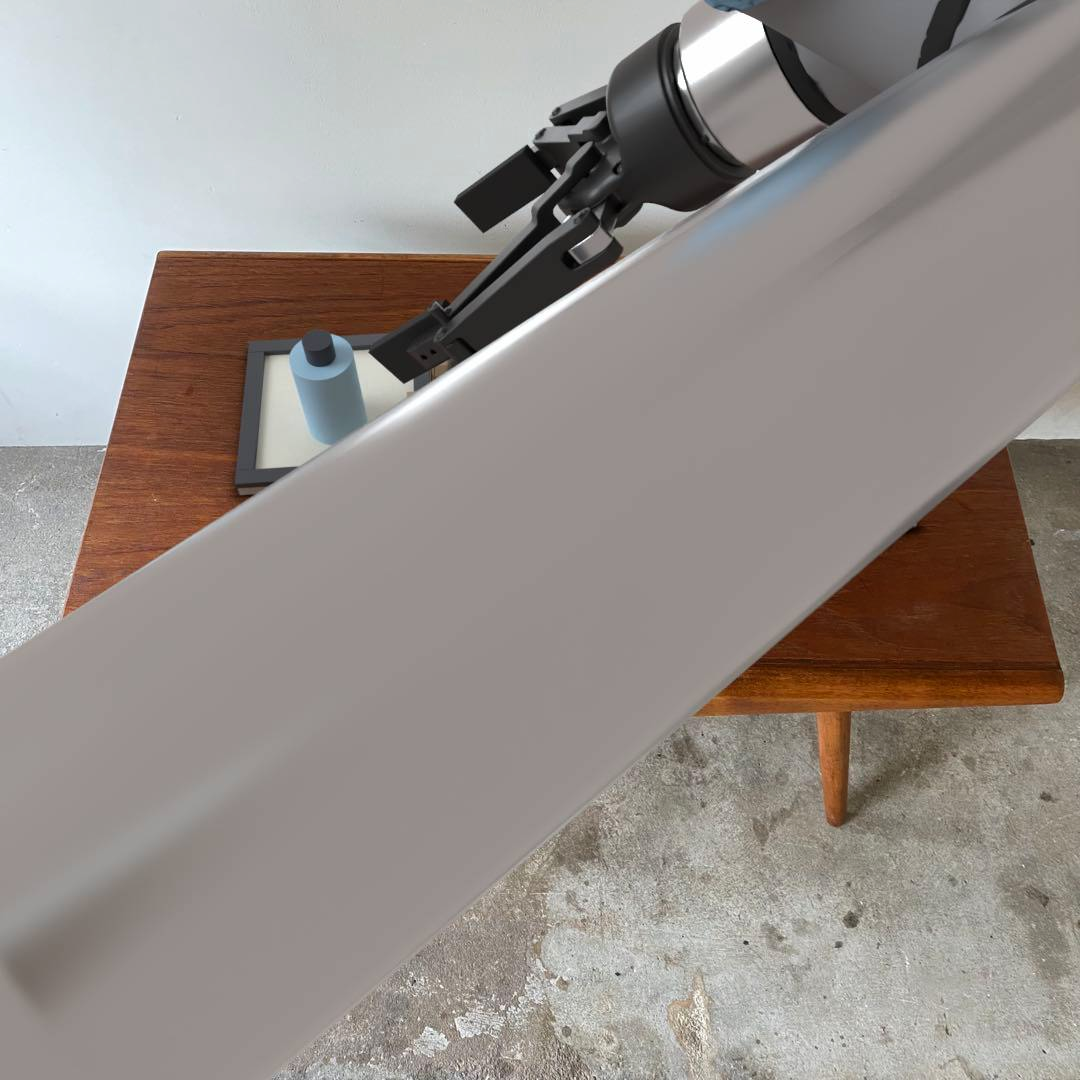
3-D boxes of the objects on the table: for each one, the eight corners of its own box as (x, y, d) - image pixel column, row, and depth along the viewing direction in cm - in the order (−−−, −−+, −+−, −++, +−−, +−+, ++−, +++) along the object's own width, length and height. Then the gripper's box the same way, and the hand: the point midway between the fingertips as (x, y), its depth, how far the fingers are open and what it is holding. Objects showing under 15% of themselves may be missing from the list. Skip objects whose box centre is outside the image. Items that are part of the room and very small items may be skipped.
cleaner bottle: (307, 447, 90) (282, 365, 81) (309, 402, 93) (285, 318, 84) (367, 443, 91) (349, 361, 81) (367, 398, 94) (350, 315, 84)
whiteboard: (239, 495, 89) (234, 484, 87) (253, 353, 98) (248, 340, 97) (434, 482, 90) (433, 470, 88) (429, 343, 100) (427, 330, 98)
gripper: (714, 346, 38) (399, 481, 53) (809, 23, 51) (536, 203, 66) (592, 206, 34) (291, 392, 49) (729, -103, 47) (459, 118, 62)
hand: (431, 284), depth 58 cm, fingers open, 13 cm apart
